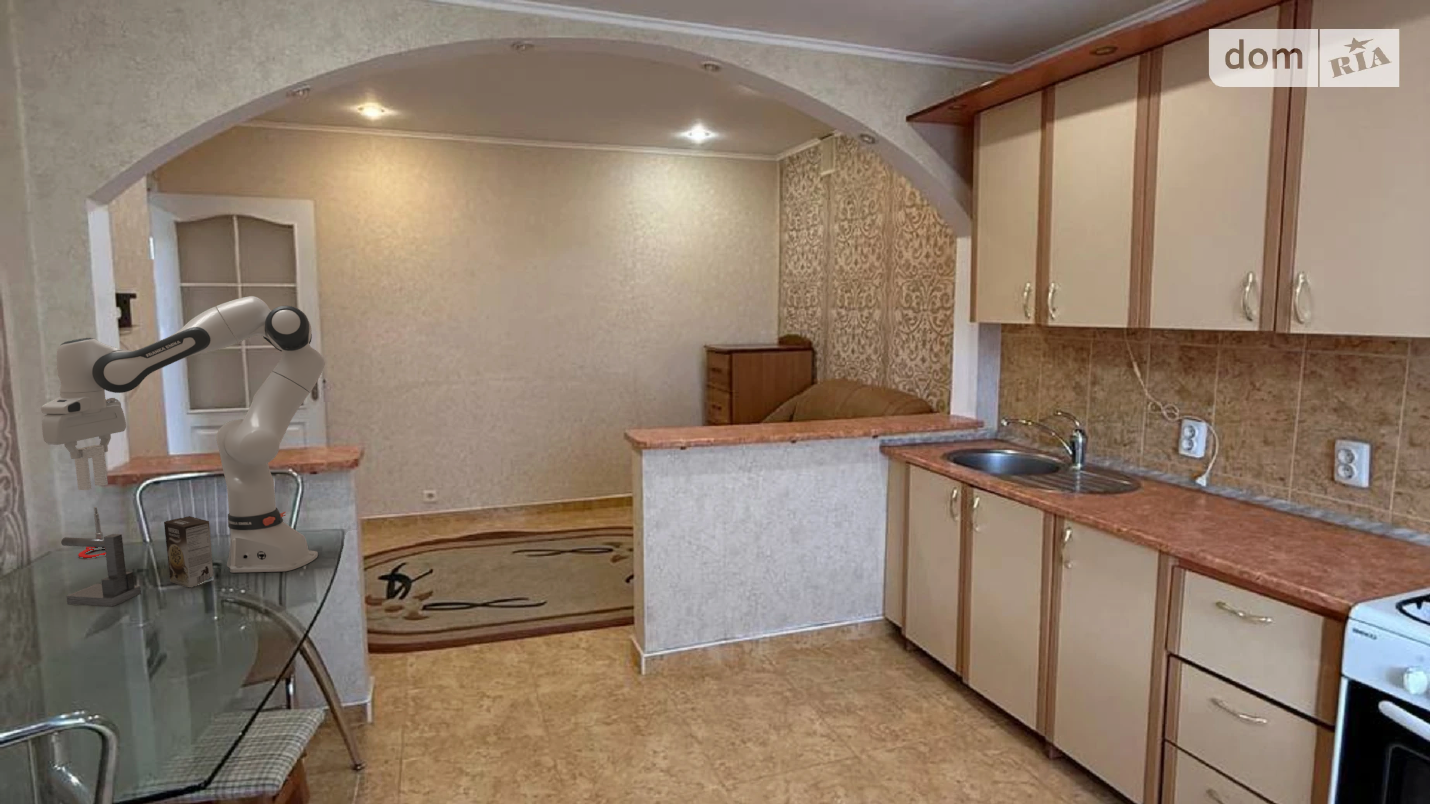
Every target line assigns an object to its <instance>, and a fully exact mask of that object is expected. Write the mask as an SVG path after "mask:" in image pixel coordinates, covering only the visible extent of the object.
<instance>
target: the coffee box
mask: <svg viewBox="0 0 1430 804" xmlns="http://www.w3.org/2000/svg"><path fill="white" fill-rule="evenodd" d="M163 524H164V525H163V526H164V534H165V535H164V536H165V544H166V553H167V561H168V562H167V565H168V566H167V567H168V573H169V574H168V576H169V582H170V583H174V584H175V585H179V586H182V587H185V586H186V587H185V588H188V587H191V588H194V587H193V586H195V587H197V585H198V584H200V583H202V582H204V581H205V580H207V579H209V578H210V577H212V576H214V567H213V565H214V564H213V553H212V541H211V529H210V528H211V527H210V520H206V519H202V518H199V517H195V516H190V515H188V516H185V517H179V518H174V519H170V520H165V521H164V522H163ZM198 586H199V585H198Z"/></svg>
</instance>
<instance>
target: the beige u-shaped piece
mask: <svg viewBox="0 0 1430 804" xmlns="http://www.w3.org/2000/svg"><path fill="white" fill-rule="evenodd" d="M77 450H78V451H82V458H78V459H74V465H75V472H76V473H75V474H76V481H77V490H78V491H89V490H92V484H91V483H92V482H91V473H90V465H89V464H90V463H89V459H91V460H92V467H93V477H94V486H101V487H102V486H104V487H105V486H107V485H108V486H109V483H108V480H109V479H108V474H107V473H108V472H107V465H106V464H107V463H106V462H107V461H106V455H105V453H106V452H104V445H99V444H93V445H89V446H84V447H80V448H77Z"/></svg>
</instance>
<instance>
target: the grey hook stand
mask: <svg viewBox="0 0 1430 804" xmlns="http://www.w3.org/2000/svg"><path fill="white" fill-rule="evenodd" d="M60 544H61V546H63V547H82V548H83V547H84V548H86V547H102V548H105V550H104V551H105V552H106V556H105V560H106V567H107V577H105V578H102V579H101V580H100V581H101V583H95V584H92V585H90V586H87V587H85V588H82V589H81V590H78V591H77V590H76V592H73V593H71V594H67V595H66V604H67V605H78V606H79V605H81V606H82V605H83V606H96V607H97V606H98V607H99V606H100V607H115V606H117V605H119V604H122V603H123V602H125V601H128V600H131V599H132V598H135V597H137V596H139V595H142V586H141V585H135V580H134V572H133V571H126V561H125V553H124V551H125V550H124V541H123V534H121V533H112V534H109V535H107V536H103V539H96V538H91V537H90V538H87V537H84V538H83V537H67V536H66V537H62V539H61V543H60ZM105 552H104V553H105Z"/></svg>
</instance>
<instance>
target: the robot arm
mask: <svg viewBox="0 0 1430 804" xmlns="http://www.w3.org/2000/svg"><path fill="white" fill-rule="evenodd" d="M258 336H259V337H260V336H261V337H263V339H265V340H266V341H267V342H268V343H269V344H270V345H272V347H274V348H275V349H276V350H277V351H279V352H281V357H280V359H279V361H278V362H277V364H276V365H275V367H274V368H273V369H272V371H271V372H270V373H269V374H268V376H267V378H266V379H265V380H264V382H262V384H261V385H260V386H259V388H258V389H257V391H256V392H255V393H254V395H253V398H252V401H251V404H250V406H249V408H248V410H247V413H246V414H245V416H244V418H240V419H239V418H238V419H234V420H233V419H232V420H231V421H227V422H225V423H224V424H223V425H221V427H219V429H218V431H217V433H216V443H217V446H218V452H219V457H220V463H221V467H222V472H223V475H224V479H225V485H226V490H227V503H228V512H229V513H227V524H228V525H227V526H228V528H229V531H230V538H229V539H230V540H229V551H228V552H229V553H228V558H227V562H226V567H227V568H229V573H234V574H235V573H263V572H267V573H268V572H269V573H270V572H271V573H273V572H277V573H278V572H289V571H292V570H295V569H299V568H301V567H304V566H306V565H307V564H309V563H312V562H313V561H314V560H316V559H317V558H318V556H319V554H318V551H317V550H311V549H310V550H309V547H308V542H307V539H306V536H305V535H304V534H302V533H300V532H299V531H297V530H296V529H294V528H293V527H291V526H290V525H289V524H287V523H286V522H285V521H284V519H283V518H284V517H286V516H287V514H286V513H287V512H286V511H282V512H280V510H279V509H278V508H277V505H276V504H277V503H276V491H275V482H274V481H275V480H274V478H273V475H272V473H271V472H272V471H271V470H270V465H269V463H270V462H272V461H273V460H274V459H275V458H276V457H277V455H278V453H279V450H280V445H281V442H282V440H283V438H284V436H285V434H286V432H287V430H288V427H289V426H290V423H291V421H292V420H293V418H294V416H295V415H296V413H297V412H298V410H299V409H300V407H301V406H302V404H303V403H304V401H306V399H307V397H308V396H309V395H310V393H311V392H312V390H313V389H314V387H315V386H316V384H317V382H318V380H319V379H320V376H321V375H322V373H323V371H324V369H325V363H326V362H325V359H324V357H323V356H322V354H321V353H320V352H319V351H318V350H316V349H315V348H313V347H311V343H312V338H313V337H312V336H313V335H312V326H311V323H310V321H309V319H308V316H307V315H306V314H305V313H304V311H302V310H301V309H299V308H297V307H295V306H293V305H280V306H277V307H275V308H273V309H272V310H271V308H270V307H269V305H268V304H267V303H266V302H265V301H264V300H262V298H259V297H257V296H254V295H249V296H246V297H245V296H244V297H240V298H236V299H233V300H230V301H226V302H222V303H221V304H218V305H216V306H213V307H211V308H208V309H206V310H205V311H203V312H201V313H199V314H197V315H196V316H195V317H193V318H192V319H190V320H189V321H187V323H186V324H185V325H183V327H181V328H180V329H179V330H178V331H175V332H174V333H172V334H171V335H169V336H167V337H165V338H163V339H161V340H158V341H156V342H153V343H151V344H149V345H146V346H144V347H141V348H139V349H136V350H129V349H123V348H119V347H114V346H111V345H109V344H106V343H103V342H101V341H99V340H97V339H96V338H93V337H82V338H77V339H71V340H68V341H64V342H62V343H61V344H60V345H59V346H58V347H57V349H56V350H57V351H56V370H57V376H58V378H59V380H60V388H59V395H60V396H57V397H56V398H54V399H52V400H50V401H48V402H45V403H44V404H43V405H42V406H41V407H40V409H41V413H42V414H44V416H43V417H42V420H41V426H42V428H41V429H42V437H43V441H44V442H45V443H46V444H47V445H49V446H50V445H52V446H53V445H54V446H56V445H57V446H58V445H59V446H60V445H63V444H64V448H65V449H66V450H67V451H68V452H69V456H70V459H71V460H75V459H78V458H82V451H78V450H77V449H78V448H77V447H76V446H77V445H78V441H83V440H88V439H92V438H98V439H100V441H99V444H98V445H104V453H107V452H108V451H109V450H108V449H109V447H108V445H109V444H110V441H111V439H112V436H111V435H112V434H118V433H122V432H125V430H126V428H127V420H126V416H125V413H124V410H123V407H122V403H121V401H120V400H118V399H117V398H116V397H109V398H106V392H105V391H107V392H109V393H113V394H114V393H115V394H123V393H127V392H130V391H133V390H134V389H136V388H137V387H138V386H139V385H140V384H141V383H142V382H143V381H144V380H145V379H146V378H147V377H148V376H150V375H151V374H153V373H155V372H156V371H158V370H160V369H162V368H165V367H168V366H170V365H171V364H173V363H176V362H179V361H180V360H182V359H185V358H188V357H192V356H196V355H199V354H206V353H210V352H215V351H219V350H222V349H226V348H229V347H232V346H234V345H236V344H239V343H242V342H243V341H247V340H248V339H250V338H253V337H258Z"/></svg>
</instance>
